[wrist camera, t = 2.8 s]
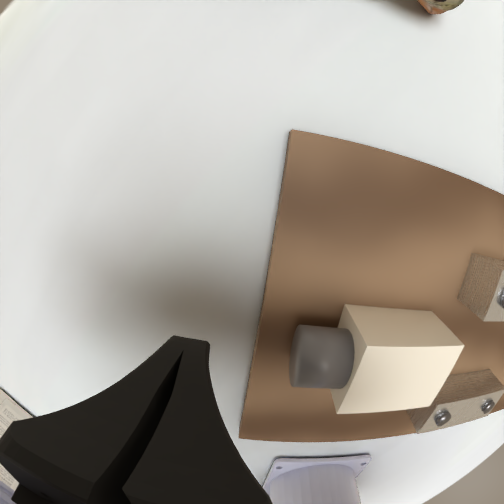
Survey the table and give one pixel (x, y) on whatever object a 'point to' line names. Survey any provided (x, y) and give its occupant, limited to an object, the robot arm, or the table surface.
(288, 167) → the base board
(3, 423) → the photo printer
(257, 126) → the table surface
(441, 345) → the plug
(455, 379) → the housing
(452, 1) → the decorative bird
